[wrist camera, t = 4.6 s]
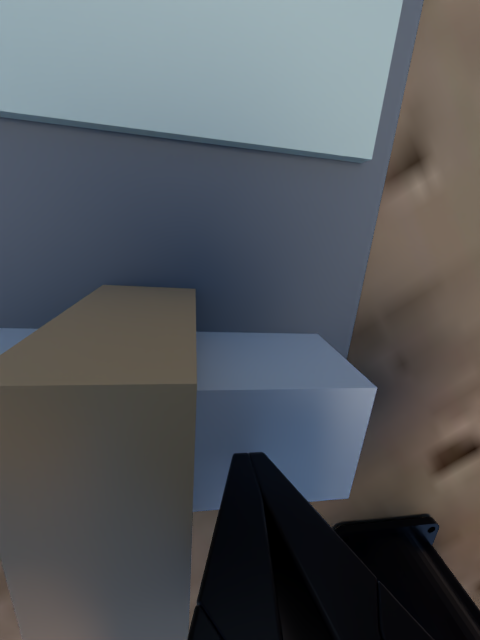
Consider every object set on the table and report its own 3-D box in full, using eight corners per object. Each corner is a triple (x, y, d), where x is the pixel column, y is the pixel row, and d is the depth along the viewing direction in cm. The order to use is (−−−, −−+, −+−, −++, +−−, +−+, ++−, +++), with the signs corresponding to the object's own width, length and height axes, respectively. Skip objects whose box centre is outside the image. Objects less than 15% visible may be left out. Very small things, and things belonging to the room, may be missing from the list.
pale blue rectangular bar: (317, 333, 11) (377, 387, 8) (303, 417, 13) (348, 498, 9) (-22, 327, 9) (-162, 395, 6) (1, 427, 11) (-103, 537, 7)
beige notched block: (195, 288, 10) (197, 383, 4) (190, 458, 12) (187, 674, 6) (102, 284, 9) (-46, 386, 4) (116, 462, 12) (38, 700, 6)
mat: (452, -197, 8) (473, -230, 7) (315, 473, 15) (319, 483, 14) (-341, -497, 5) (-409, -588, 4) (-40, 497, 12) (-51, 511, 12)
